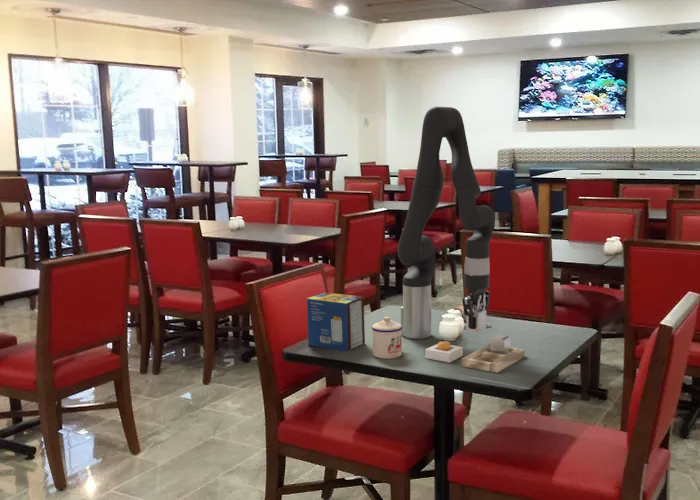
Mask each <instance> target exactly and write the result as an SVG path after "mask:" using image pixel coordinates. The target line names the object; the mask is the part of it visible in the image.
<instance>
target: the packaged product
mask: <svg viewBox="0 0 700 500" xmlns="http://www.w3.org/2000/svg"><path fill="white" fill-rule="evenodd" d="M453 307H454V308H453V311H454V310H459V311H460V312H461V313H462V318H463V319H464V323H465V325H464V328H465V329H466V316H465V315H464V309H463V304H462V305H455V306H453ZM467 310H468V309H467ZM491 326H492V325H491V324H490V323H489V322H488V321H486V328H491Z"/></svg>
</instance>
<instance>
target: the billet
mask: <svg viewBox="0 0 700 500" xmlns="http://www.w3.org/2000/svg"><path fill="white" fill-rule="evenodd" d="M511 339H512V336H511V335H510V336H509V335H502V334H496V335H493V336H492V337H490V352H493V353H499V354H505V355H506V354H508V353H510V352H511V347H512V346H511V345H512V340H511Z"/></svg>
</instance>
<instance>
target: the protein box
mask: <svg viewBox="0 0 700 500" xmlns="http://www.w3.org/2000/svg"><path fill="white" fill-rule="evenodd" d="M306 308H307V310H306V311H307V313H306V314H307V342H308V343H307V345H308V346H309V347H317V348H321V349H329V350H335V351H341V352H346V353H347V352H350V351H352V350H354V349H357V348H359V347H361V346H363V345H365V344H366V339H365V337H366V335H365V332H366V331H365V299H364V296H361V295H351V294H343V293H342V294H341V293H330V292H322V293H320V294H317V295H313V296H310V297H307V298H306Z"/></svg>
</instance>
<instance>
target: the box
mask: <svg viewBox="0 0 700 500" xmlns="http://www.w3.org/2000/svg"><path fill="white" fill-rule="evenodd" d="M424 350H425V352H424V353H425V359H429V360H434V361H438V362H439V361H440V362H444V363H451V362H453V361H455V360H457V359H459V358H461V357H463V355H464V353H463V351H464V347H463V346H460V345H459V346H458V345H455V344H454V345H453V344H450V350H448V351H443V350H438V343H436V344H434V345H432V346H430V347H427V348H425V349H424Z"/></svg>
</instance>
